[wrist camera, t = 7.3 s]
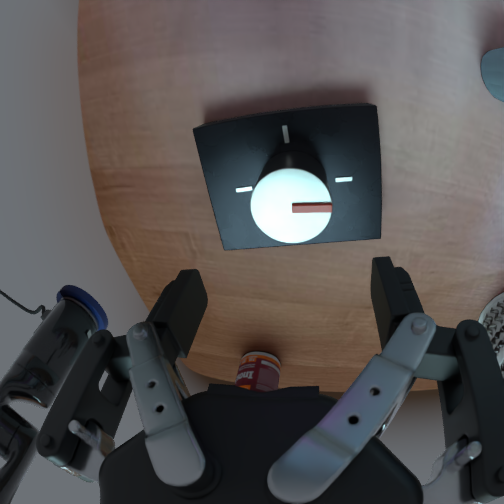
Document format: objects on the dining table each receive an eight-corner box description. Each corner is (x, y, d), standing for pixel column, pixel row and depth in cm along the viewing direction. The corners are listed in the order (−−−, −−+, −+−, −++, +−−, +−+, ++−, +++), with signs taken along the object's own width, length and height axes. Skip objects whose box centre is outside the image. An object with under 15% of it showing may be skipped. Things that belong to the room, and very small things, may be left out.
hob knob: (263, 214, 25) (253, 246, 21) (256, 152, 22) (244, 171, 18) (327, 213, 24) (332, 245, 20) (326, 149, 21) (332, 168, 17)
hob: (230, 235, 31) (223, 251, 28) (203, 123, 25) (191, 129, 22) (374, 224, 27) (381, 239, 25) (368, 102, 21) (377, 105, 18)
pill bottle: (252, 344, 40) (237, 411, 31) (288, 359, 41) (281, 425, 32) (234, 363, 43) (218, 423, 34) (268, 376, 44) (258, 436, 35)
